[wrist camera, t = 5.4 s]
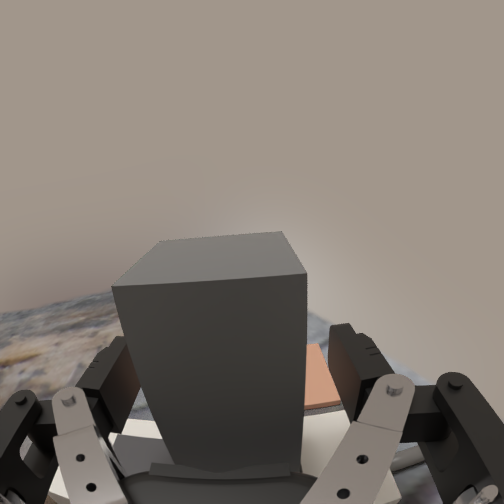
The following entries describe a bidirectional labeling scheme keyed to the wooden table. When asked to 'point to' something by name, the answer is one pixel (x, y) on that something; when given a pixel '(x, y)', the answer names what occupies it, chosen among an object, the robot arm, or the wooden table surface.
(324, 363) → the tile coaster
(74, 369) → the wooden table surface
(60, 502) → the power strip
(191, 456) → the block
